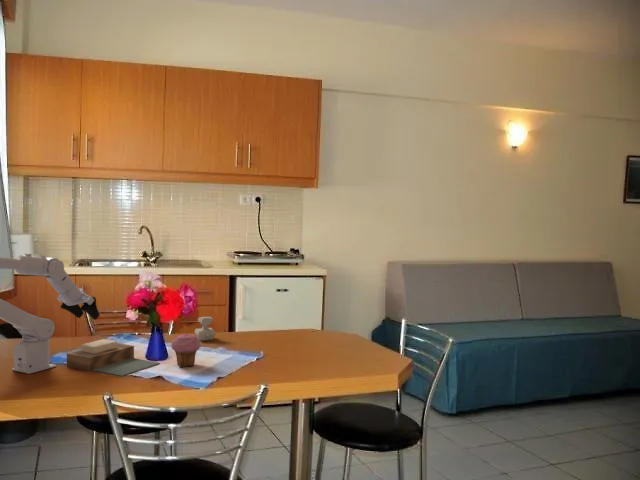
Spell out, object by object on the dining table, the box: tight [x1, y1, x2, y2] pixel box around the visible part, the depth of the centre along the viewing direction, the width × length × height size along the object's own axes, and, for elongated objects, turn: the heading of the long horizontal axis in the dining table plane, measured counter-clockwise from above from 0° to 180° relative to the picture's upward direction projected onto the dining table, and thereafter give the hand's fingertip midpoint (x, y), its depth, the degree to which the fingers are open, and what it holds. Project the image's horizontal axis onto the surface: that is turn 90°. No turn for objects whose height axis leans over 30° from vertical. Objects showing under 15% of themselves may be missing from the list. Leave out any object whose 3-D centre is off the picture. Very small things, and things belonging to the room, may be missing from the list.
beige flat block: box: [80, 338, 118, 353], centre depth 189 cm, size 9×6×2 cm, turn 153°
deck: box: [66, 342, 135, 372], centre depth 189 cm, size 18×10×4 cm, turn 153°
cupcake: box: [171, 333, 201, 368], centre depth 187 cm, size 9×9×10 cm
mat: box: [92, 357, 161, 377], centre depth 184 cm, size 16×12×1 cm
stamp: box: [194, 316, 217, 342], centre depth 222 cm, size 9×7×8 cm
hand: (89, 316), depth 196 cm, fingers open, 7 cm apart
